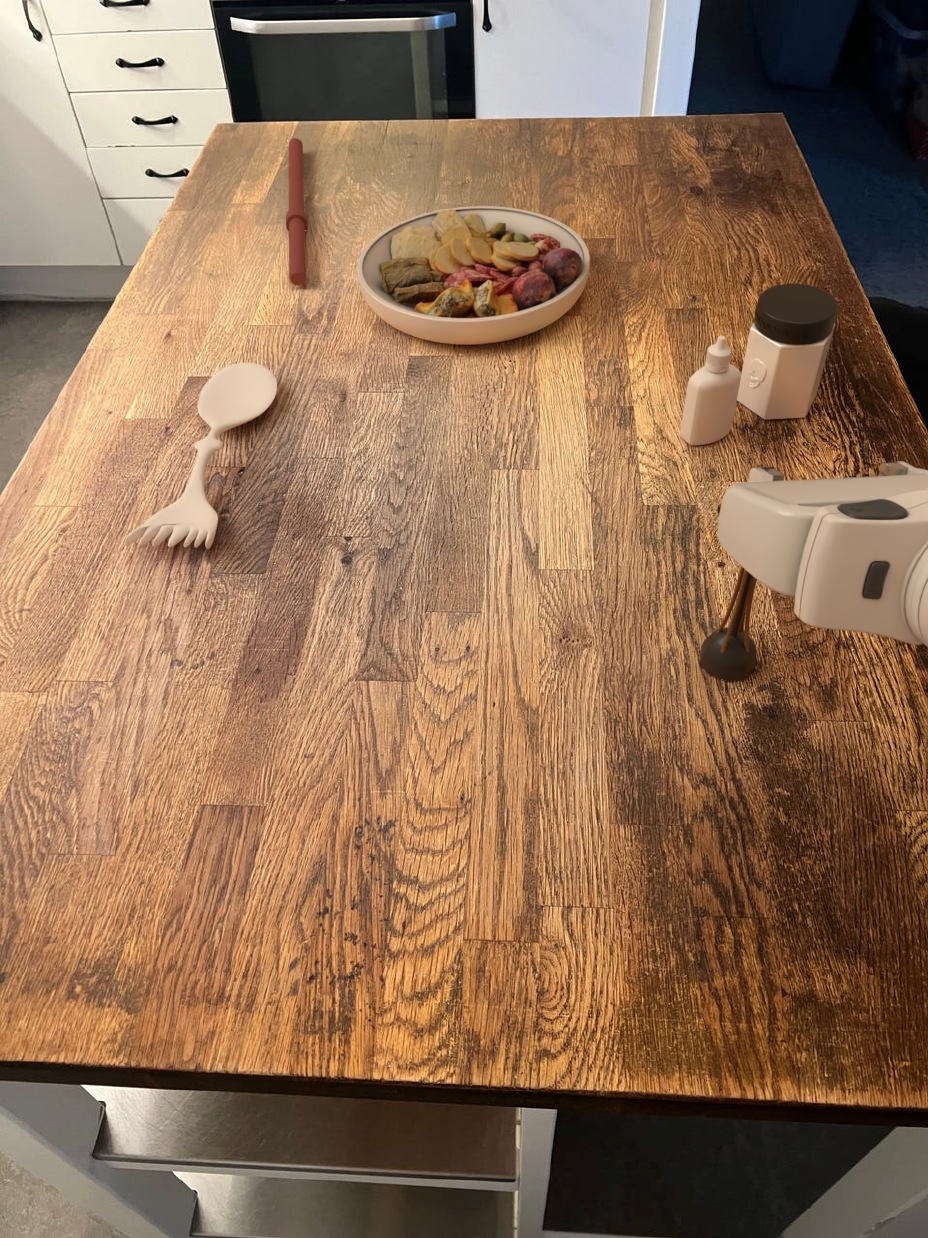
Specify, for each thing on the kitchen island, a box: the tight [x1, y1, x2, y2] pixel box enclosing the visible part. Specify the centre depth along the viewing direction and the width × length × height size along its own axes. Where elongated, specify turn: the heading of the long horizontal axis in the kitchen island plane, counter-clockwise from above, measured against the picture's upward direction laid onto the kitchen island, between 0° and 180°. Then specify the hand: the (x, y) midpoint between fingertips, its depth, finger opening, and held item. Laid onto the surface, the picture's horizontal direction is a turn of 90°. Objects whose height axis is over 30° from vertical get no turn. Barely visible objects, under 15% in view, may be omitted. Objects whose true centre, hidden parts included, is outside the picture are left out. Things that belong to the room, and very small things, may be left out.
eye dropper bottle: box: [679, 335, 741, 446], centre depth 101 cm, size 4×6×12 cm
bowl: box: [356, 205, 591, 346], centre depth 125 cm, size 30×30×8 cm
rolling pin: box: [285, 137, 309, 286], centre depth 144 cm, size 45×3×3 cm, turn 7°
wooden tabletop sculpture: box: [699, 503, 758, 682], centre depth 77 cm, size 6×5×20 cm
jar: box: [737, 283, 839, 421], centre depth 105 cm, size 9×8×12 cm
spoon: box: [124, 362, 278, 550], centre depth 105 cm, size 9×32×4 cm, turn 174°
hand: (823, 475), depth 64 cm, fingers open, 8 cm apart
